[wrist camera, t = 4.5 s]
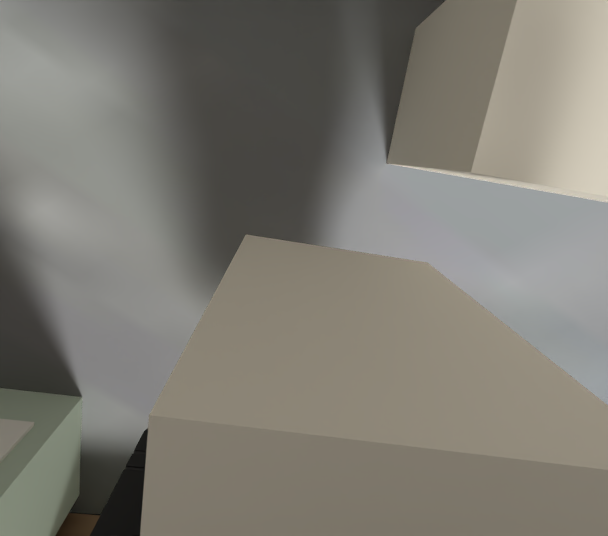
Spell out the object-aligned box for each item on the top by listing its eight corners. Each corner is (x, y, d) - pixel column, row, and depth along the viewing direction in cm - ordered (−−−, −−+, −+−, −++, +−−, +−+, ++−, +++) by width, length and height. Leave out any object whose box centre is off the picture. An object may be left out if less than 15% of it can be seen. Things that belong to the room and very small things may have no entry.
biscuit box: (433, 263, 10) (720, 482, 3) (360, 545, 12) (443, 1005, 6) (246, 234, 10) (148, 415, 3) (207, 530, 12) (104, 1002, 5)
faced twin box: (416, 23, 14) (543, -98, 7) (655, 74, 15) (970, 8, 8) (386, 163, 15) (470, 172, 8) (608, 202, 16) (848, 239, 9)
